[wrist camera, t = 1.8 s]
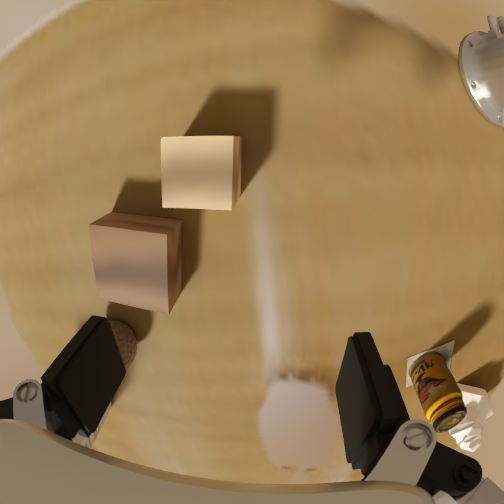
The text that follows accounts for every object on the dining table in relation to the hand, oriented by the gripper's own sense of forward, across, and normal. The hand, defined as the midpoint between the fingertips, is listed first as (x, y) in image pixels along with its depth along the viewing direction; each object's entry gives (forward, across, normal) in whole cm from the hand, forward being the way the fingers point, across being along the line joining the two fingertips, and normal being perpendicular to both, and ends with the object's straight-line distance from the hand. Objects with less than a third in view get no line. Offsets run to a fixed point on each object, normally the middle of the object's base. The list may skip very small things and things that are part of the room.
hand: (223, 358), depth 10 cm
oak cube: (+21, +4, -5) cm, 22 cm away
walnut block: (+21, +13, +5) cm, 25 cm away
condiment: (+21, -28, +22) cm, 41 cm away
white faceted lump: (+21, -41, +35) cm, 58 cm away
